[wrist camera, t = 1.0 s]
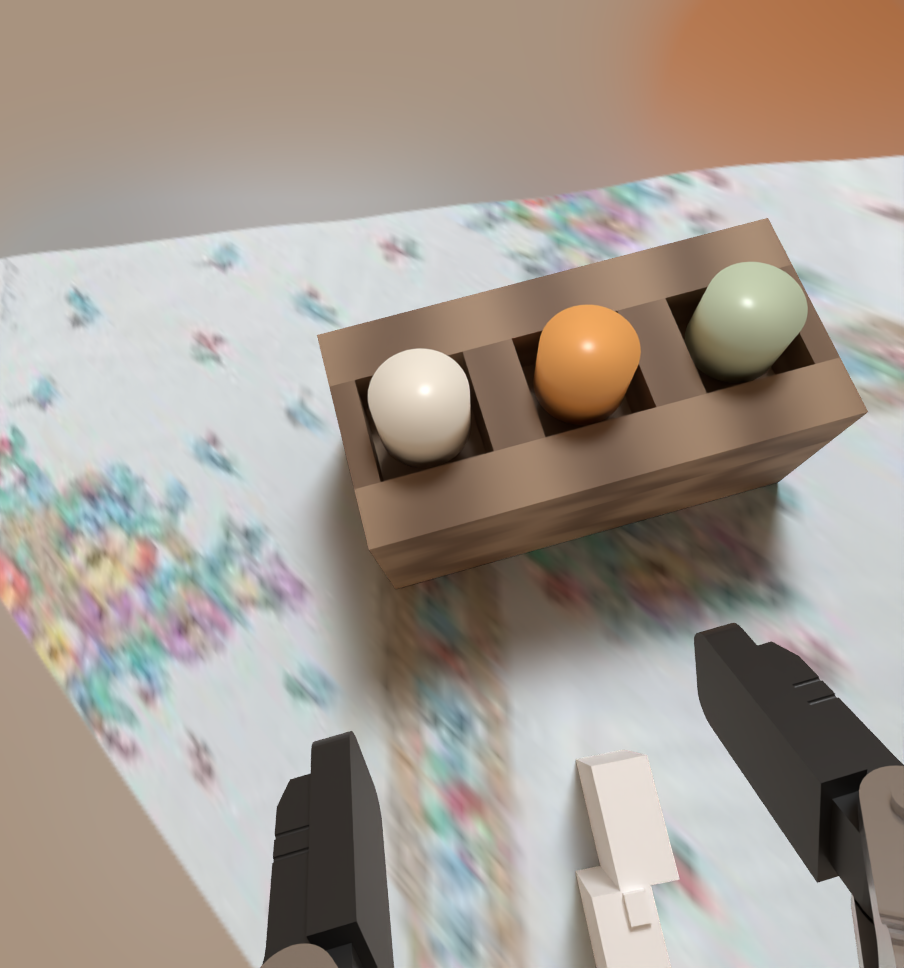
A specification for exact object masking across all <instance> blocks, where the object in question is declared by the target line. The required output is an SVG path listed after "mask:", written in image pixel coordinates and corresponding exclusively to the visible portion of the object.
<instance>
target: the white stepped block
mask: <svg viewBox="0 0 904 968" xmlns="http://www.w3.org/2000/svg"><path fill="white" fill-rule="evenodd" d="M576 763H577V767H578V772H579V776H580V780H581V785H582V789H583V793H584V798H585V802H586V807H587V811H588V815H589V820H590V824H591V828H592V833H593V837H594V841H595V846H596V850H597V855H598V859H599V863H600V866H596V867H591V868H586V869H581V870H576V876H577V880H578V885H579V890H580V894H581V899H582V903H583V908H584V912H585V917H586V922H587V926H588V931H589V935H590V940H591V945H592V949H593V954H594V958H595V963H596V967H597V968H671V965H670V961H669V957H668V953H667V949H666V944H665V940H664V936H663V932H662V928H661V924H660V920H659V916H658V912H657V908H656V904H655V900H654V896H653V892H652V888H651V885H655V884H659V883H664V882H669V881H674V880H679V875H678V871H677V868H676V864H675V860H674V856H673V852H672V848H671V845H670V841H669V837H668V833H667V829H666V825H665V822H664V818H663V814H662V810H661V806H660V802H659V799H658V795H657V791H656V787H655V783H654V779H653V776H652V772H651V768H650V764H649V760H648V756H647V755H645V754H641V753H637V752H632V751H628V750H619V751H614V752H609V753H604V754H599V755H594V756H589V757H584V758H579V759H576Z"/></svg>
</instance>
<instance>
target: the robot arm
mask: <svg viewBox="0 0 904 968" xmlns="http://www.w3.org/2000/svg"><path fill="white" fill-rule="evenodd" d="M694 646H695V660H696V674H697V688H698V696H699V700H700V704H701V707H702V709H703V712H704V714H705V717H706V719H707V721H708V722H709V724H710V726H711V727H712V729H713V730H714V732H715V733H716V735H717V736H718V738H719V739H720V741H721V742H722V743H723V745H724V746H725V748H726V749H727V751H728V752H729V754H730V755H731V757H732V758H733V760H734V761H735V763H736V764H737V766H738V767H739V768H740V770H741V771H742V773H743V774H744V776H745V777H746V779H747V780H748V782H749V783H750V785H751V786H752V788H753V789H754V790H755V792H756V793H757V795H758V796H759V798H760V799H761V801H762V802H763V804H764V805H765V807H766V808H767V810H768V811H769V812H770V814H771V815H772V817H773V818H774V820H775V821H776V823H777V824H778V826H779V827H780V829H781V830H782V832H783V833H784V835H785V836H786V837H787V839H788V840H789V842H790V843H791V845H792V846H793V848H794V849H795V851H796V852H797V854H798V855H799V857H800V858H801V859H802V861H803V862H804V864H805V865H806V867H807V868H808V870H809V871H810V873H811V874H812V876H813V877H814V879H815V880H816V882H817V883H818V882H821V881H824V880H827V879H831V878H834V877H837V876H839V877H840V878H841V879H842V881H843V882H844V884H845V885H846V886H847V888H848V889H849V891H850V892H851V893H852V894H851V910H852V917H853V924H854V932H855V939H856V946H857V954H858V961H859V968H904V765H903V764H902V763H901V762H900V761H899V760H898V759H897V758H896V757H895V756H894V755H893V754H892V753H891V752H890V751H889V750H888V749H887V748H886V747H885V745H884V744H883V743H882V742H881V741H880V740H879V739H878V738H877V737H876V736H875V735H874V734H873V733H872V732H871V731H870V730H869V729H868V728H867V727H866V726H865V725H864V724H863V722H862V721H861V720H860V719H859V718H858V717H857V716H856V715H855V714H854V713H853V712H852V711H851V710H850V709H849V708H848V707H847V706H846V705H845V704H844V703H843V702H842V701H841V699H840V698H836V696H835V693H834V692H833V691H832V690H831V689H830V688H829V687H828V686H827V685H826V684H825V683H824V682H823V681H820V680H819V677H818V675H817V674H816V673H815V672H814V671H813V670H812V669H811V668H810V667H809V666H808V665H807V664H806V663H805V662H804V661H803V660H802V659H801V658H800V657H799V656H798V655H796V654H794V653H792V652H790V651H788V650H787V649H785V648H783V647H781V646H779V645H777V644H775V643H773V642H768V643H765V644H762V645H758V646H757V645H756V644H755V642H754V641H753V640H752V639H751V638H750V637H749V636H748V635H747V633H746V632H745V631H744V630H743V629H742V628H741V627H740V626H739V625H738V624H736V623H730V624H727V625H724V626H720V627H717V628H713V629H710V630H706V631H703V632H699V633H696V634H695V637H694ZM275 837H276V840H274V851H273V859H274V863H272V876H271V889H270V902H269V914H268V927H267V940H266V950H265V957H264V961H263V964H262V966H261V967H260V968H394V962H393V949H392V937H391V925H390V913H389V901H388V889H387V877H386V865H385V853H384V841H383V829H382V818H381V811H380V806H379V801H378V797H377V793H376V790H375V786H374V784H373V781H372V778H371V776H370V773H369V770H368V768H367V765H366V763H365V760H364V757H363V755H362V752H361V750H360V747H359V744H358V742H357V739H356V737H355V735H354V733H353V732H352V731H350V732H346V733H343V734H339V735H336V736H332V737H329V738H325V739H322V740H318V741H315V742H313V744H312V749H311V774H308V775H304V776H301V777H297V778H294V779H290V781H289V783H288V785H287V787H286V789H285V791H284V793H283V795H282V797H281V799H280V802H279V804H278V806H277V812H276V825H275Z"/></svg>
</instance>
